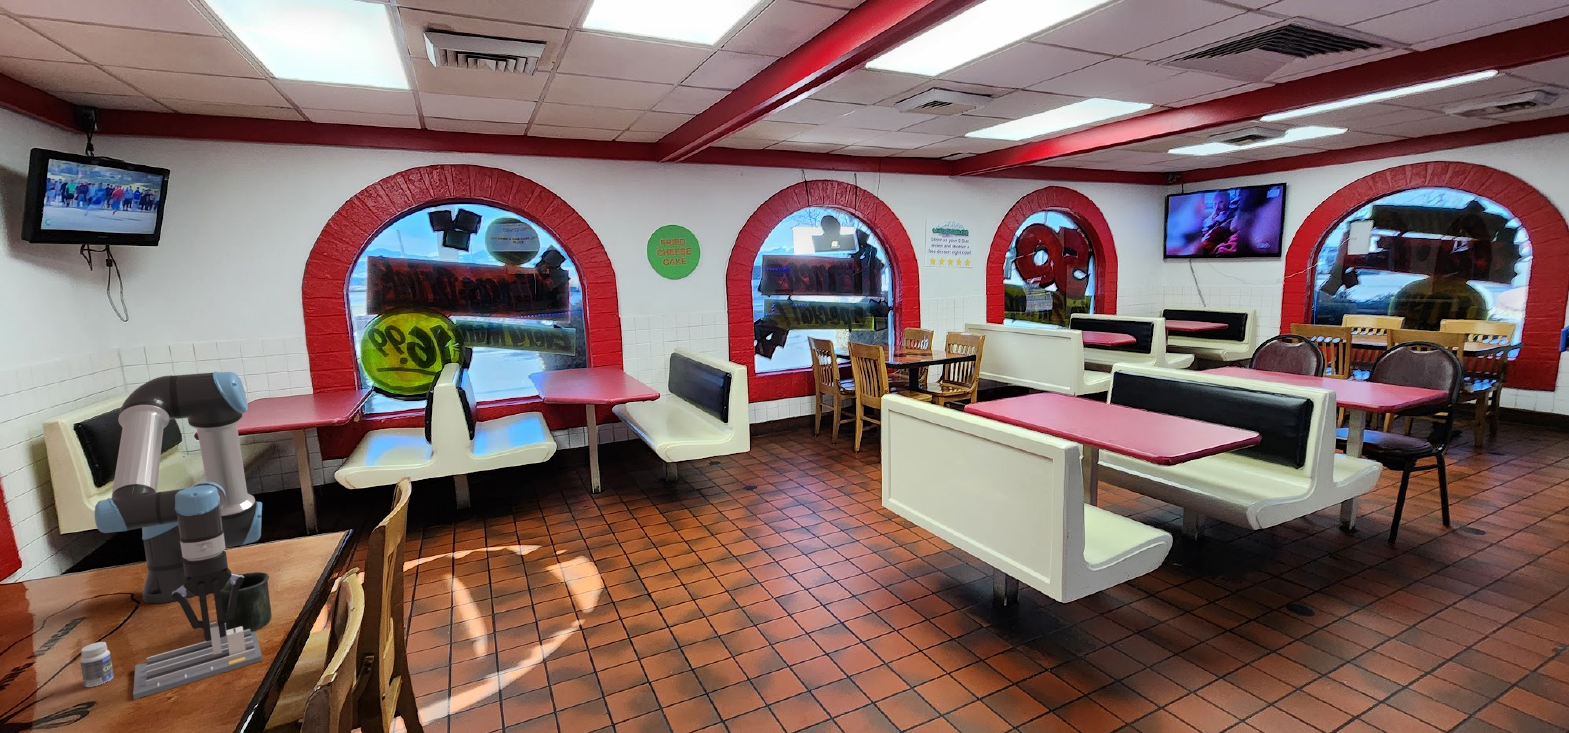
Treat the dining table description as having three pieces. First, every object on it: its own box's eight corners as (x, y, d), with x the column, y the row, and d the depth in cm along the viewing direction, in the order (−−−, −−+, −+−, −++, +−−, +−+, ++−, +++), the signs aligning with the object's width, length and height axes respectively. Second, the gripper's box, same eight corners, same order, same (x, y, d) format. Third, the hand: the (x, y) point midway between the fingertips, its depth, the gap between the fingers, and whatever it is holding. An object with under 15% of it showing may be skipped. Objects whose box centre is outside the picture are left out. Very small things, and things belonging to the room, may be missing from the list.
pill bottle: (110, 683, 153) (105, 648, 152) (81, 690, 150) (75, 654, 149) (116, 672, 157) (111, 638, 156) (87, 679, 154) (82, 644, 153)
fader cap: (228, 652, 162) (226, 630, 161) (245, 647, 164) (242, 625, 163) (229, 657, 160) (226, 635, 159) (246, 652, 162) (243, 630, 161)
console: (136, 669, 158) (131, 642, 157) (256, 635, 172) (252, 610, 171) (133, 699, 147) (129, 670, 146) (262, 660, 161) (259, 633, 160)
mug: (221, 641, 170) (215, 595, 168) (220, 619, 181) (214, 575, 179) (275, 626, 177) (270, 582, 175) (271, 606, 188) (266, 564, 186)
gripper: (166, 568, 149) (180, 669, 152) (242, 551, 158) (254, 647, 161) (166, 557, 155) (179, 655, 158) (239, 542, 163) (251, 635, 166)
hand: (217, 651), depth 159 cm, fingers closed
